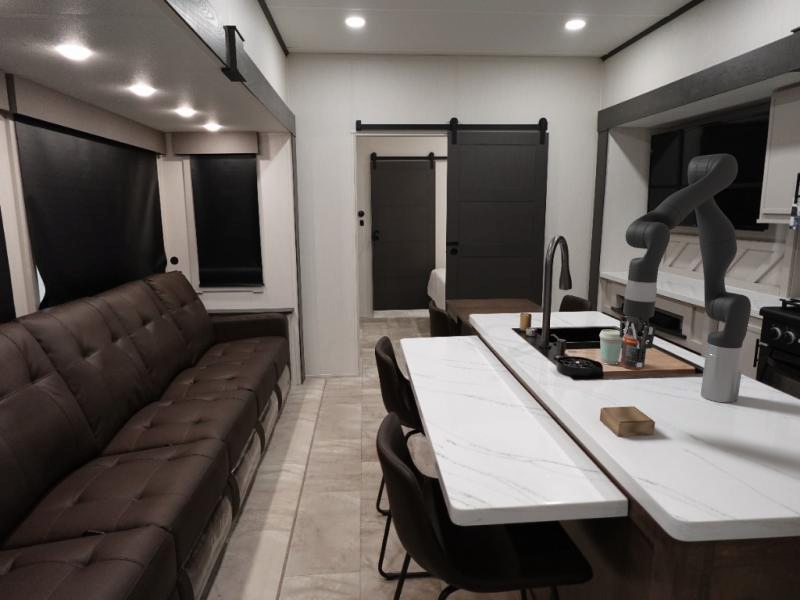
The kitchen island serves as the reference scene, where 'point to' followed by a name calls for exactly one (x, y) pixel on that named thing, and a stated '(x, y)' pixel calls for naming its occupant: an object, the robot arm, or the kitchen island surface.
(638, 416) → the plinth
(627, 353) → the supplement bottle
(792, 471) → the kitchen island surface
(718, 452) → the kitchen island surface
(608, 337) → the coffee cup
